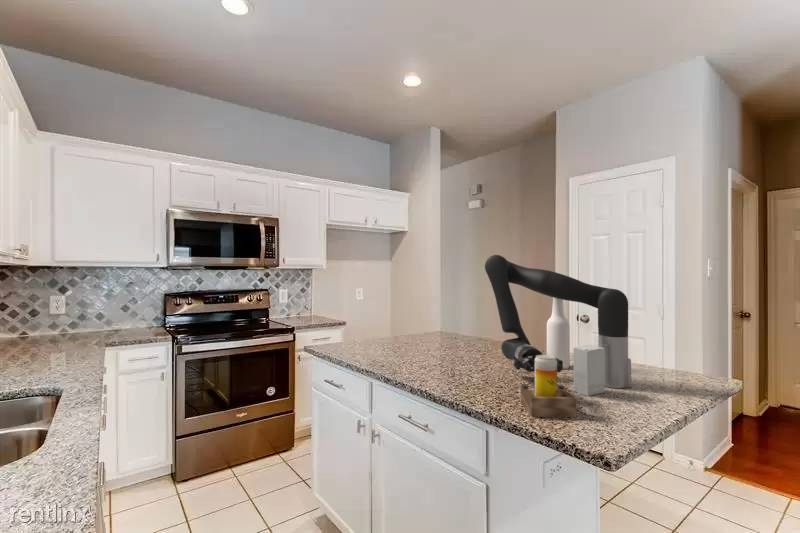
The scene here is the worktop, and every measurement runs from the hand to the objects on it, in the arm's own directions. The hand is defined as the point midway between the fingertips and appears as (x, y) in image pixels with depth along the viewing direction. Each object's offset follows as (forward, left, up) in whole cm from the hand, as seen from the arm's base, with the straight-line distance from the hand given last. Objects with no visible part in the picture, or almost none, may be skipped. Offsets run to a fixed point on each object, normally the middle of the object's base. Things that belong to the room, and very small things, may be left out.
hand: (544, 368), depth 121 cm
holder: (0, +2, -11) cm, 11 cm away
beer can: (0, +2, -11) cm, 11 cm away
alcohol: (-21, -49, -11) cm, 54 cm away
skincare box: (-19, -14, -11) cm, 26 cm away
